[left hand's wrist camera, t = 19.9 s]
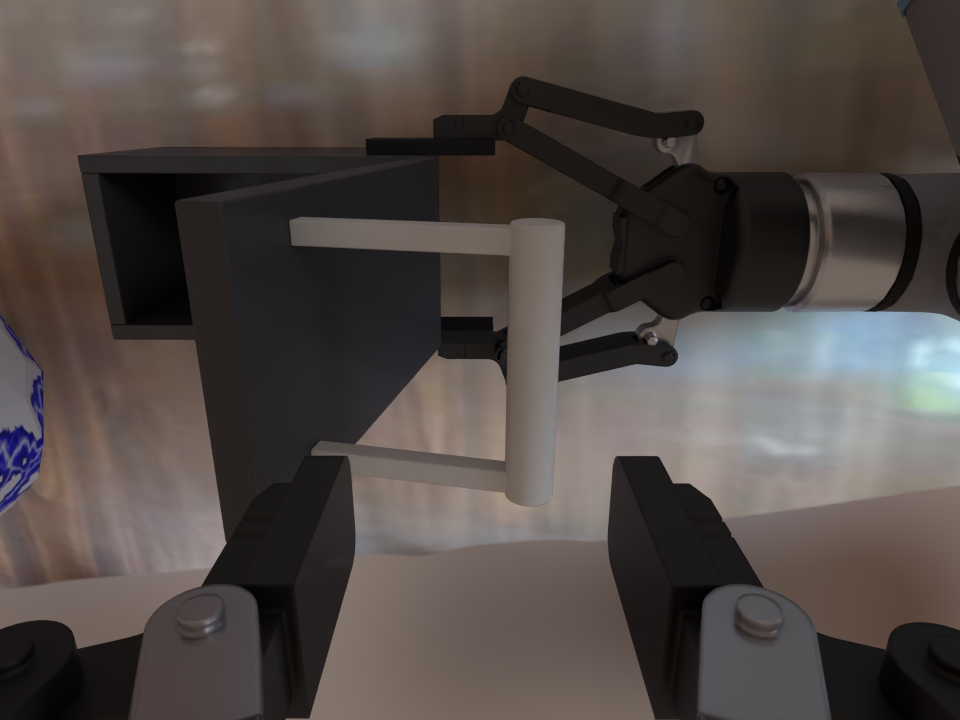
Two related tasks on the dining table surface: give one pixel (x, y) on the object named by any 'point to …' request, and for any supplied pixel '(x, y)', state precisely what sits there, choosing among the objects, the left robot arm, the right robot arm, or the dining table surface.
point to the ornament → (18, 418)
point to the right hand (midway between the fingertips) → (375, 242)
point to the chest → (153, 221)
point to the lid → (356, 327)
